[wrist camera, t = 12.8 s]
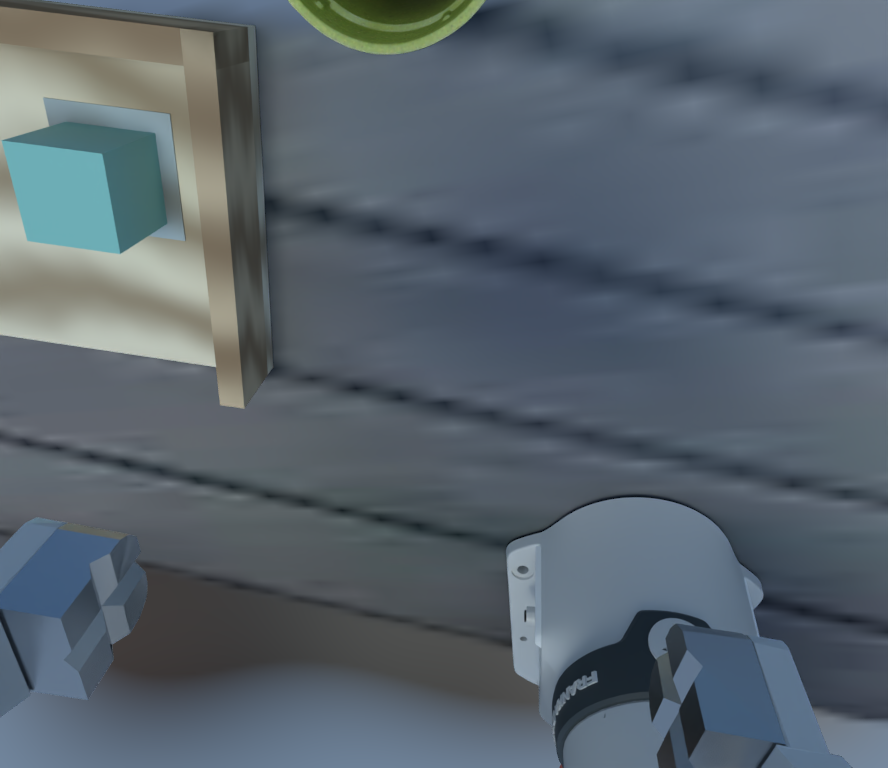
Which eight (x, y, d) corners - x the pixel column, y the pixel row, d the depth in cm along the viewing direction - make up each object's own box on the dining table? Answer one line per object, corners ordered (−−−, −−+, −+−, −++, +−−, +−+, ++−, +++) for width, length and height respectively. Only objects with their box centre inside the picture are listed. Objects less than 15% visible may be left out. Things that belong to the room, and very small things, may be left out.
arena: (273, 367, 43) (244, 408, 39) (-13, 324, 44) (-71, 360, 40) (255, 25, 32) (212, 32, 28) (-121, -20, 34) (-216, -20, 29)
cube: (155, 133, 35) (102, 153, 31) (167, 223, 38) (120, 254, 33) (66, 121, 35) (1, 140, 31) (84, 212, 38) (27, 241, 34)
